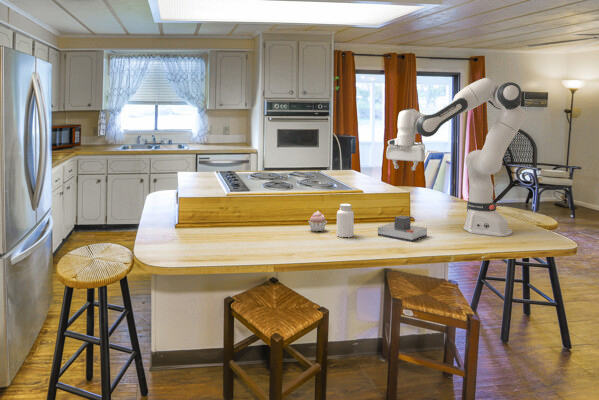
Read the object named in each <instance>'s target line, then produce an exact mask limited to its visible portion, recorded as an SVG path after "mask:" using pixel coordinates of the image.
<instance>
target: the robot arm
mask: <svg viewBox="0 0 599 400" xmlns="http://www.w3.org/2000/svg"><path fill="white" fill-rule="evenodd" d="M486 102H488V103H489V104H490V105H491V106H492V107H493V108H495V109H498V110H500V114H499V116H498V117H497V119H496V121H495V122H494V123H493V125H492V126H491V128H490V130H489V131H488V133H487V134H486V136H485V141H484V145H483V147H482V149H475V150H471V151H470V152H469V153H468V154H467V156H465V165H466V167H467V177H468V178H467V179H468V200H467V205H466V217H465V222H464V225H463V228H462V229H463V230H464V231H467V232H468V233H470V234H477V235H478V234H479V235H486V236H496V237H508V236H510V235H512V234H513V230H512V229H509V226H508V225H509V224H508V220H507V219H506V218H505V217H504V216H503V215H502V214H501V213H499V212H498V211H497V207H498V204H497V203H496V204H495V203H494V202H493V199H494V198H493V197H494V184H493V181H492V176H491V175H495V174H497V173H498V172H500V170H501V169H502V168H503V167H502V166H503V159H504V156H505V154H506V152H507V149H508V148H509V146H510V144H511V142H512V141H513V139H514V138H515V136H516V135H517V133H518V132H519V130H520V128H521V126H522V125H523V123H524V120H525V118H526V112H525V110H524V109H523V108H522V107H521V102H522V89H521V86H520V85H519V84H517V83H516V82H511V81H509V82H505V83H503V84H501V85H496V83H495V82H494V81H493V80H492V79H491V78H488V77H483V78H481V79H478V80H476V81H473V82H472V83H470V84H468V85H467V86H465V87H463V88H462V89H461V90H460V91H458V92H457V93H456V94H455V95H454V97H453V100H452V101H451V102H450V103H449V104H448V105H446V106H445V107H443V108H442V109H440V110H438V111H436V112H434V113H432V114H424V113H422V112H419V110H417V109H415V108H410V107H409V108H405V109H402V110H401V111H399V113H398V116H397V124H396V125H397V127H396V128H397V134H396V138H393V139H390V140H388V141H387V145H388V146H387V147H386V153H385V154H386V155H385V157H386V159H387V160H392V163H393V166H394V169H395V170H397V169H400V165H399V164H398V163H397V162H398V161H404V162H405V161H407V162H412V163H413V166H411V167H410V168H411V169H410V170H411V171H416V169H417V166H418V164H419V162H420V163H421V162H424V161H425V160H426V151H425V150H426V144H424V143H423V142H418V141H416V135H417V134H419V135H420V136H422V137H425V138H427V137H432V136H434V135H435V134H437V132H438V131H439V130H440V128H441V127H442V126H443V125H444V124H445V123H447V122H449V121H450V120H452V119H453V118H455V117H457V116H459V115H461V114H464V113H466V112H469V111H472V110H474V109H475V108H477V107H479V106H481V105H483V104H484V103H486Z"/></svg>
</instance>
